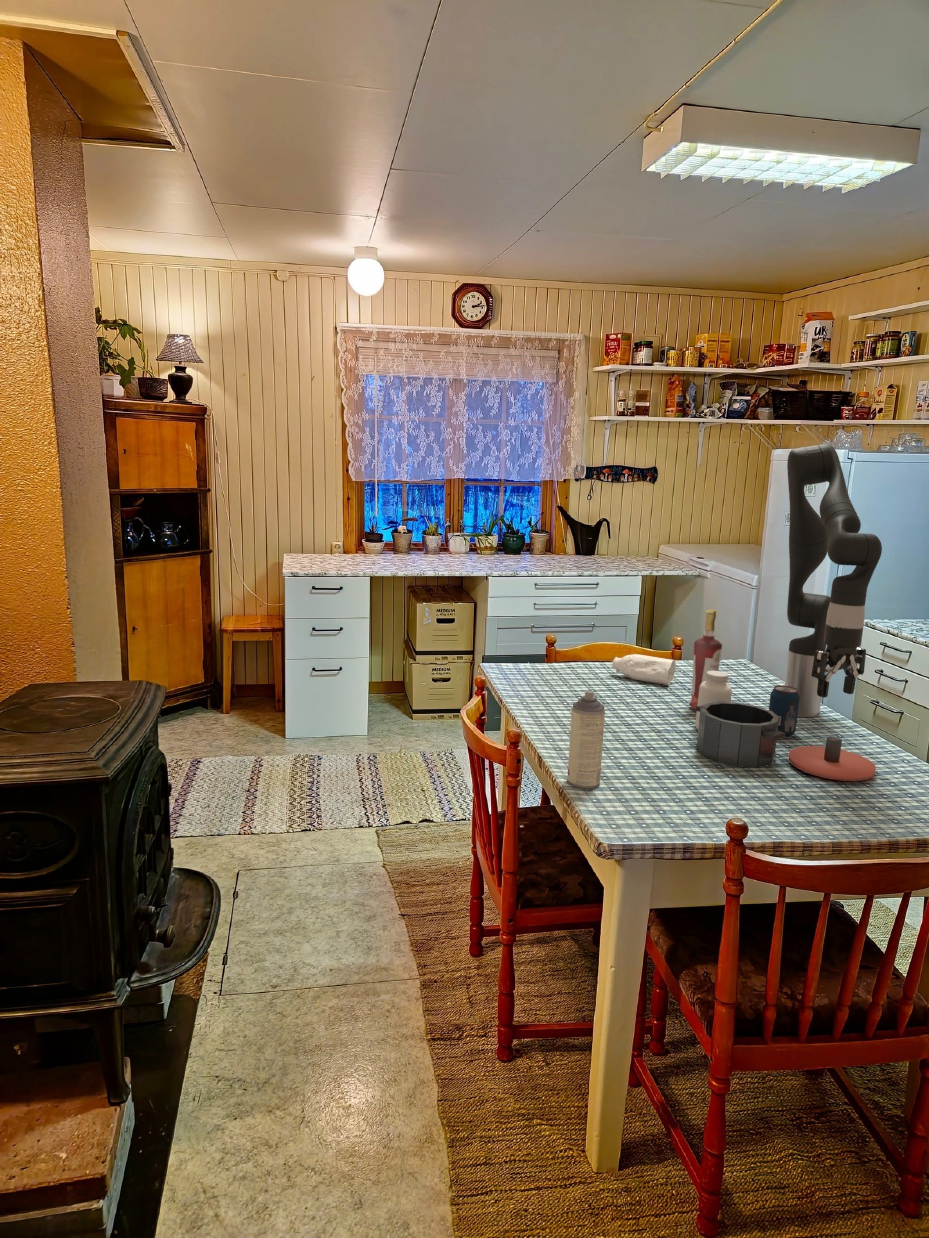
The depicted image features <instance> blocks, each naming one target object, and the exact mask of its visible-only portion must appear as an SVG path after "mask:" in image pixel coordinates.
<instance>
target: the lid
mask: <svg viewBox="0 0 929 1238" xmlns="http://www.w3.org/2000/svg"><path fill="white" fill-rule="evenodd" d="M842 743H843V740H842V738H840V737H838V736H827V737H826V739H825V746H822V745H821V746H818V745H804V746H798V747H794V748H792V749H790V750H789V752H788V762H789V763H790V764H791V765H792V766H793V767H794V768H796V769H799V770H800V771H802V772H804V773H808V774H809V775H812V776H816V777H820V778H825V779H828V780H829V779H830V780H836V781H845V782H859V781H860V782H861V781H866V780H870V779H872V778H874V777H875V775H876V771H877V767H876V765H875V764H874V762H872V760H870V759H868V758H867V757H865V756H862V755H860V754H857V753H854V752H851V751H848V750H844V749H842Z"/></svg>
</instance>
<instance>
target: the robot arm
mask: <svg viewBox="0 0 929 1238" xmlns="http://www.w3.org/2000/svg"><path fill="white" fill-rule="evenodd" d="M786 464H787V465H786V466H787V468H786V470H787V482H788V483H787V484H788V495H789V496H788V499H789V527H788V528H789V529H788V535H789V536H788V555H789V582H788V594H787V595H788V596H787V609H786V610H787V611H786V616H787V617H786V618H787V621H788V623H789V624H790V625H792V626H796V627H802V628H809V629H814V630H813V633H812V634H809V635H807V636H802V637H796V638H793V639H791V640H790V642H789V645H788V653H787V654H788V655H787V661H786V669H785V670H786V671H785V676H784V677H785V679H784V686H789V687H793V688H796V689H798V694H799V696H800V700H799V709H798V718H799V717H800V718H814V717H817V716H818V714H820V712H821V705H822V704H821V703H822V698H824V699H825V698H828V695H829V688H830V679H831V678H832V676H833V675H835V674H837V672H838V671H840V670H843V673H844V674H845V676H844V682H843V688H842V692H843V693H845V694H848V695H852V694H854V693H855V688H856V680H857V678H858V677H859V676H860V675H861V676H862V675H864V673H865V665H866V664H865V663H866V655H867V649H866V648H862V647H861V645H862V640H863V639H862V638H863V632H864V624H865V619H866V618H865V617H866V616H865V615H866V612H865V611H866V606H865V605H866V601H867V599H866V598H867V593H868V588H869V584H870V583H871V579H872V577H873V575H874V571H875V570H876V568H877V566H878V563H879V561H880V559H881V556H882V551H883V547H882V545H883V544H882V542H881V540H880V538H879V537H878V536H877V535H875V534H873V533H861V532H860V531H861V527H862V526H861V525H862V523H861V519H860V518H859V515H858V513H857V511H856V509H855V507H854V505H853V502H852V500H851V499H850V495H849V492H848V488H847V484H846V483H847V482H846V480H845V476H844V472H843V467H842V465H841V461H840V458H839V454H838V453H837V450H836V448H835V447H834V446H833V445H831V444H829V443H823V444H817V445H816V444H815V445H812V446H811V445H810V446H802V447H797V448H794V449H791V450H790V452H789V453H788V457H787V463H786ZM827 482H828V483H829V484H828V487H827V489H826V491H825V492H824V494H823V497H822V498H821V500H820V504H819V514H818V512H817V511H816V510H815V509H814V508H813V506H812V505H811V503H810V502H809V500H808V498H807V496H806V494H805V488H806V486H811V485H817V484H823V483H824V484H825V483H827ZM826 556H828V559H830V561H831V562H832V563H834V564H835V565H838V566H839V565H840V566H854V569H853V571H852V572H850V573H848V574H844V575H839V576H836V577H835V578H833V580H832V584H831V590H830V596H829V595H826V594H818V593H817V594H816V593H810V592H804V591H803V589H804V586H805V584H806V582H807V581H808V579H809V578H810V577H811V575H812V574H813V573H814V572H815V570H817V569H818V568H819V566H820V565H822V563H823V561H824V560H825V559H826ZM826 672H827V673H826ZM817 713H818V714H817Z"/></svg>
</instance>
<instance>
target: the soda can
mask: <svg viewBox="0 0 929 1238" xmlns="http://www.w3.org/2000/svg"><path fill="white" fill-rule="evenodd" d="M769 694H770V696H769V704H768V710H770V711H772V712H774V713H775V714H776V715H777V716H778V717H779V726H778V731H780V732H783V733H786V734H785V738H784V739H788V738H792V737H793V736H794V734H795V733H796V732H797V725H798V724H797V723H798V718H799V716H798V709H799V700H800V696H799V694H798V689H796V688H793V687H789V686H785V685H775V686H774V687H773V688H772V691H771V692H770V693H769Z"/></svg>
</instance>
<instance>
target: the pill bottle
mask: <svg viewBox="0 0 929 1238" xmlns="http://www.w3.org/2000/svg"><path fill="white" fill-rule="evenodd" d="M706 680H707V681H704V682H702V683H701V685H700V687H699V696H698V705H697V706H702V705H705V704H709V703H715V702H732V693H733V688H732V687H731V685H730V684H728V681H729V674H728V673H727V672H724V671H720V670H718V671H708V672H707V673H706ZM699 717H700V712H699V711H696V715H695V728H696V729H697V730H698V728H699Z"/></svg>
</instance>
